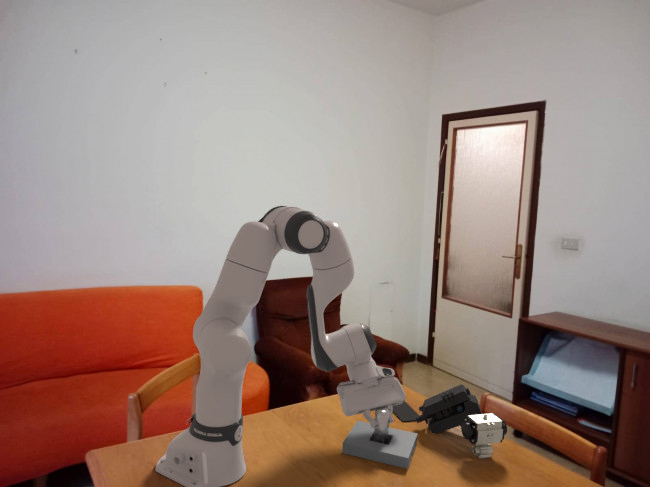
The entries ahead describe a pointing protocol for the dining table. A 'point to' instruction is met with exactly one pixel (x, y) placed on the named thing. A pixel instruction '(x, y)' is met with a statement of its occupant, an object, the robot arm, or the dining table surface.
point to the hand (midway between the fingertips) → (383, 424)
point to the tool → (448, 409)
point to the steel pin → (381, 425)
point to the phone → (404, 412)
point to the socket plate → (380, 445)
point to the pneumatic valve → (483, 432)
